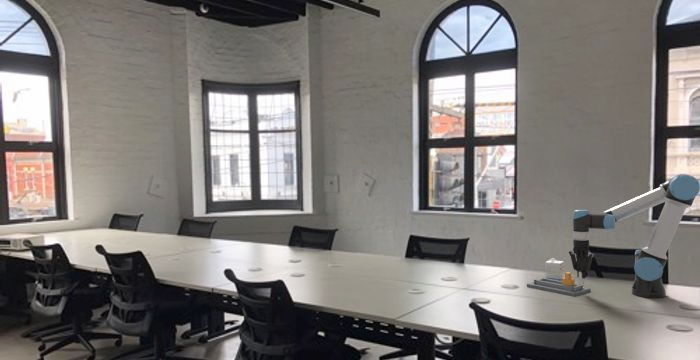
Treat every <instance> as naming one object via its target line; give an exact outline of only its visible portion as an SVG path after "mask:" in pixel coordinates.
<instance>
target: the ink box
mask: <svg viewBox="0 0 700 360" xmlns="http://www.w3.org/2000/svg"><path fill="white" fill-rule="evenodd" d="M544 262H545V265H544V267H545V274H544V275H545V277H544V278H546V279H552V280H557V281H562V278H564V277H565V268H564V267H565V266H564V265H565V261H563V260H557V259H556V258H555V257H552V258H550V259H548V260H547V261H544Z"/></svg>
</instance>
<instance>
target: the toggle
mask: <svg viewBox="0 0 700 360" xmlns="http://www.w3.org/2000/svg"><path fill="white" fill-rule="evenodd" d="M575 281H576V280H575V278H572V272H569V271H568V272H567V271H566V272H564V278H562V285H567V286H572V287H574V286H575V284H576V282H575Z"/></svg>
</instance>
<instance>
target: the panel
mask: <svg viewBox="0 0 700 360" xmlns="http://www.w3.org/2000/svg"><path fill="white" fill-rule="evenodd" d="M526 287H527V288H532V289H537V290H543V291H547V292H552V293H556V294H561V295H567V296H571V297H577V296H579V295H583V294H586V293H589V292H591V291H592V290H591V288H589V287H585V286H584V284H582V285H580V284H579V283H575V286H574V287H572V286H567V285H562V281H557V280H552V279H546V278H545V277H541V278H538V279H537V278H536V279H533V282H529V283H526Z"/></svg>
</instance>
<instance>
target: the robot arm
mask: <svg viewBox="0 0 700 360" xmlns="http://www.w3.org/2000/svg"><path fill="white" fill-rule="evenodd" d="M699 193H700V182H699V180H698V179H697V178H696V177H694V176H693V175H690V174H686V173H684V174H683V173H680V174H678V175H675V176H673V177H672V178H670V179H669V180H667V181H665V182H663V183H661V184H659V187H657V188H654V189H652V190H650V191H647V192H645V193H643V194H641V195H639V196H636V197H634V198H632V199H630V200H629V199H628V200H627V201H625V202H623V203H621V204H619V205H615V206H613V207H611V208H609V209H606V210H605V211H601V212H599V213H597V214H596V213H594V214H593V213H590V211H589V210H588V209H575V210H573V215H572V216H573V218H572V219H573V220H572V221H573V223H572V224H573V229H572V231H573V233H572V234H573V235H572V236H573V240H572V241H573V248H572V250H570V251H568V254H569V255H570V260H571V263H572V268H573V270H574V271H576V272H577V273H576V274H577V278H578V284H579V285H585V279H586V277H587V276H586V274H587V272H590V271H591V265H592V262H593V258H594V256H595V253H593V252H591V251H590V240H589V239H590V229H598V230H607V231H609V230H614V229H615V228H616V223H617V222H620V221H622V220H626V218H629V217H632V216H634V215H636V214H639V213H641V212H643V211H646V210H648V209H651V208H654V207H655V206H658V205H660V204H663V203H664V205H663V207H662V210H661V212H660V215H659V217H658V220H657V222H656V224H655V226H654V228H653V231H652V233H651V235H650V238H649V240H648V242H647V244H646V246H644V247H642V248H641V249H636V250H635V252H634V256H635V257H634V259H635V260H634V261H635V262H634V267H633V270H634V272H635V277H634V278H635V279H634V280H633V281H634V282H633V284H632V286H631V294H633V295H635V296H638V297H643V298H654V299H659V298H665V297H666V296H667V291H666V289H665V286H664V284H663V283H664V282H663V279H662V278H663V277H662V275H663V273H664V268H665V266H666V263H667V262H668V259H669V258H668V256H667V252H668V250H669V248H670V245H671V244H672V240H673V238H674V237H675V233H676V231H677V230H678V227H679V226H680V223H681V220H682V218H683V217H684V213H685V211H686V210H687V209H688V208H690V207H692V205H693V203H694V200H695V198H696V197H697V195H698V194H699Z"/></svg>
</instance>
